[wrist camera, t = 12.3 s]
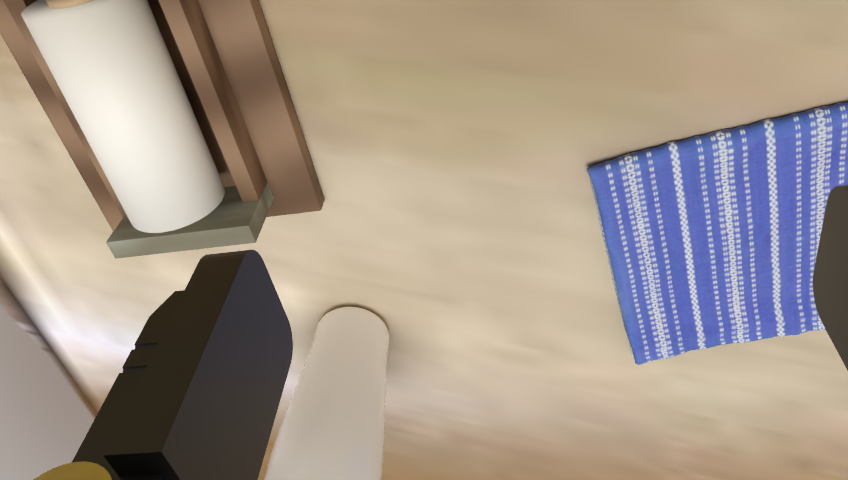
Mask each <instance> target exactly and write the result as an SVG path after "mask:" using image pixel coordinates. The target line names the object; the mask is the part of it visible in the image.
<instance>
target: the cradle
mask: <svg viewBox="0 0 848 480" xmlns="http://www.w3.org/2000/svg"><path fill="white" fill-rule="evenodd" d="M35 1H37V0H0V34H1V35H2V37H3V39H4V41H5V42H6V44H7V46H8V48H9V49H10V51H11V53H12V55H13V56H14V58H15V60H16V62H17V63H18V65H19V67H20V69H21V70H22V72H23V74H24V76H25V77H26V79H27V81H28V83H29V84H30V86H31V88H32V90H33V91H34V93H35V95H36V97H37V98H38V100H39V102H40V104H41V105H42V107H43V109H44V111H45V113H46V114H47V116H48V118H49V120H50V121H51V123H52V125H53V127H54V128H55V130H56V132H57V134H58V135H59V137H60V139H61V141H62V142H63V144H64V146H65V148H66V149H67V151H68V153H69V155H70V156H71V158H72V160H73V162H74V163H75V165H76V167H77V169H78V170H79V172H80V174H81V176H82V177H83V179H84V181H85V183H86V184H87V186H88V188H89V190H90V191H91V193H92V195H93V197H94V198H95V200H96V202H97V204H98V205H99V207H100V209H101V211H102V213H103V214H104V216H105V218H106V220H107V221H108V223H109V225H110V227H111V228H112V230H113V233H112V235H111V236H110V238H109V239H108V240H107V242H106V243H107V245H108V246H109V248H110V250H111V252H112V253H113V255H114V257H115V258H124V257H133V256H141V255H150V254H159V253H168V252H176V251H185V250H194V249H203V248H212V247H220V246H229V245H238V244H247V243H256V240H257V238H258V235H259V233H260V231H261V228H262V226H263V223H264V221H265V219H266V217H270V216H278V215H286V214H295V213H303V212H311V211H320V210H321V209H322V206H323V203H324V196H323V193H322V190H321V187H320V184H319V181H318V178H317V175H316V172H315V169H314V166H313V163H312V160H311V157H310V154H309V151H308V148H307V145H306V142H305V139H304V136H303V133H302V130H301V127H300V124H299V121H298V118H297V115H296V112H295V109H294V106H293V103H292V100H291V97H290V94H289V91H288V88H287V85H286V82H285V79H284V76H283V73H282V70H281V67H280V64H279V61H278V58H277V55H276V52H275V49H274V46H273V43H272V40H271V37H270V34H269V31H268V28H267V25H266V22H265V19H264V16H263V13H262V10H261V7H260V3H259V0H147V1H148V3H149V6H150V8H151V10H152V13H153V15H154V18H155V20H156V23H157V25H158V27H159V30H160V32H161V35H162V37H163V40H164V42H165V44H166V47H167V49H168V52H169V54H170V56H171V59H172V61H173V64H174V66H175V69H176V71H177V73H178V76H179V78H180V81H181V83H182V86H183V88H184V90H185V93H186V95H187V98H188V100H189V103H190V105H191V107H192V110H193V112H194V115H195V117H196V120H197V122H198V124H199V127H200V129H201V132H202V134H203V136H204V139H205V141H206V144H207V146H208V149H209V151H210V153H211V156H212V158H213V161H214V163H215V166H216V168H217V170H218V173H219V175H220V178H221V180H222V183H223V185H224V187H225V195H224V197H223V199H222V201H221V203H220V204H219V205H218V206H217V207H216V208H215V209H214V210H213V211H212V212H211V213H209V214H208V215H207V216H205V217H204V218H202V219H200V220H198V221H197V222H195V223H193V224H190V225H188V226H185V227H183V228H180V229H176V230H173V231H168V232H162V233H147V232H142V231H139V230H137V229H135V228H134V227H133V226H132V224H131V222H130V220H129V219H128V217H127V215H126V213H125V211H124V209H123V207H122V205H121V203H120V201H119V200H118V198H117V196H116V194H115V192H114V190H113V188H112V186H111V184H110V183H109V181H108V179H107V177H106V175H105V173H104V171H103V169H102V167H101V165H100V164H99V162H98V160H97V158H96V156H95V154H94V152H93V150H92V148H91V147H90V145H89V143H88V141H87V139H86V137H85V135H84V133H83V131H82V130H81V128H80V126H79V124H78V122H77V120H76V118H75V116H74V114H73V112H72V111H71V109H70V107H69V105H68V103H67V101H66V99H65V97H64V95H63V94H62V92H61V90H60V88H59V86H58V84H57V82H56V80H55V78H54V76H53V75H52V73H51V71H50V69H49V67H48V65H47V63H46V61H45V59H44V58H43V56H42V54H41V52H40V50H39V48H38V46H37V44H36V42H35V40H34V39H33V37H32V35H31V33H30V31H29V29H28V27H27V25H26V23H25V22H24V20H23V18H22V16H21V13H22V11H23V10H24V9H25V8H26V7H28V6H29V5H30V4H32V3H34V2H35Z"/></svg>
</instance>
